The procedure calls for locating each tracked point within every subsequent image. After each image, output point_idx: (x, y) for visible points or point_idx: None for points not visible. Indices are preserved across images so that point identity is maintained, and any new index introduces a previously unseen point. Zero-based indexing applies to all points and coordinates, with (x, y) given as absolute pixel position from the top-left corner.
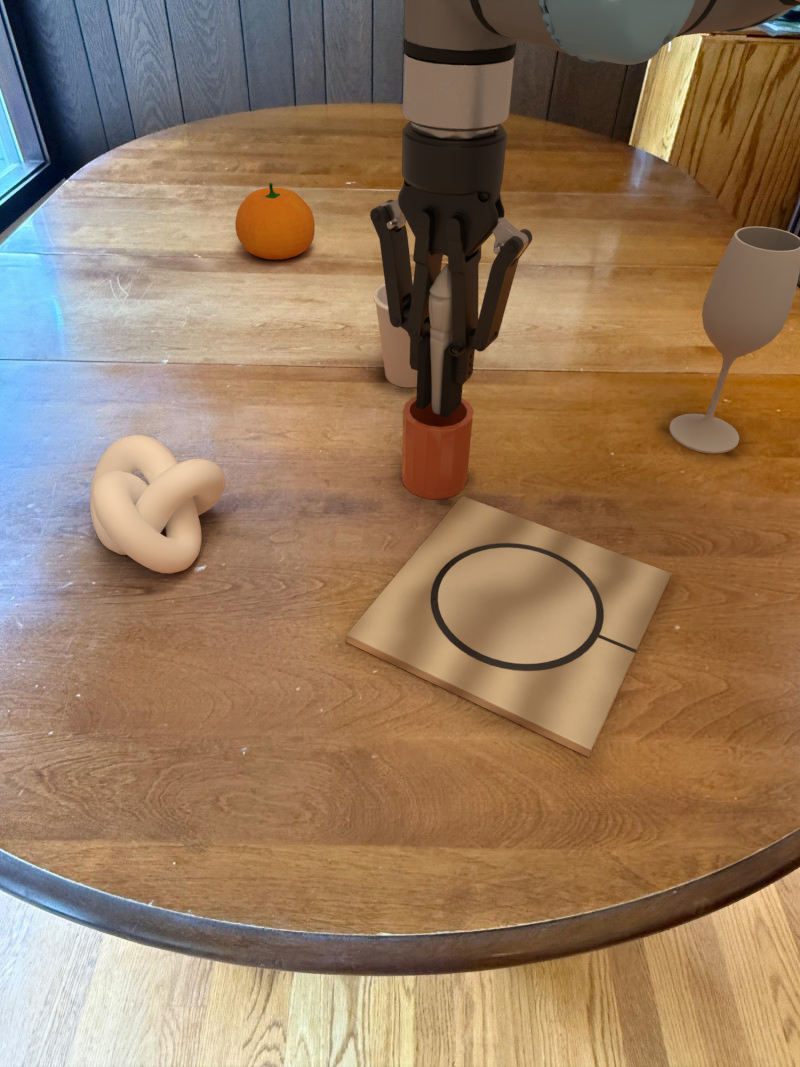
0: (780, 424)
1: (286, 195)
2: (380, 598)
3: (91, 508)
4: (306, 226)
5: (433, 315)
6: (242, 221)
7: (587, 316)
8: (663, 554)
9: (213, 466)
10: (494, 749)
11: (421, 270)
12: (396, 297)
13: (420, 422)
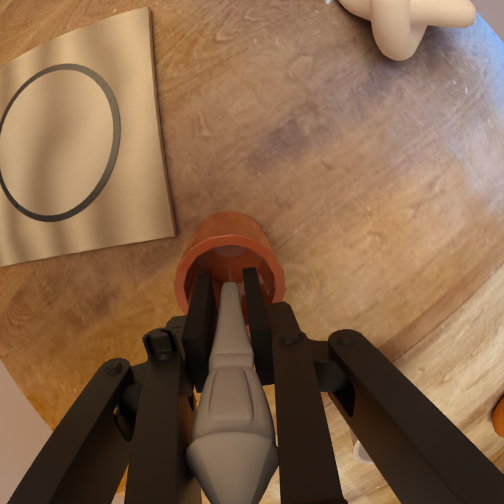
0: None
1: None
2: (146, 50)
3: None
4: (501, 425)
5: (241, 388)
6: None
7: (267, 496)
8: (20, 290)
9: (387, 5)
10: (21, 38)
11: (309, 484)
12: (368, 378)
13: (267, 282)
